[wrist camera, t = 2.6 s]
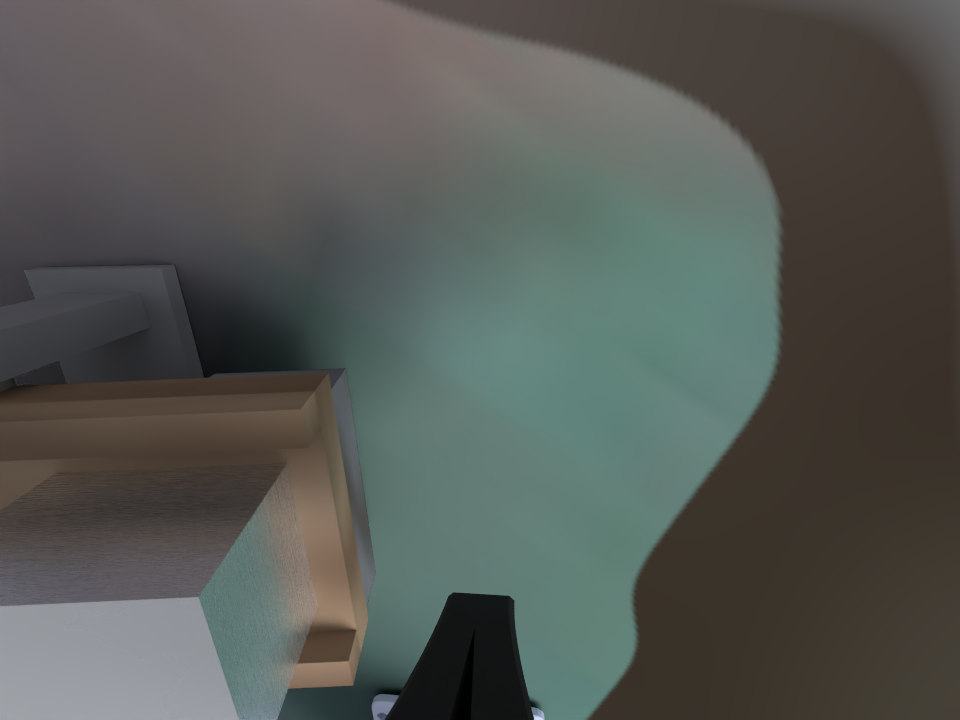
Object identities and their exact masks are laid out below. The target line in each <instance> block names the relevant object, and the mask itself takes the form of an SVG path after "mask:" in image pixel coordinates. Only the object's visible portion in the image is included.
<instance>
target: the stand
mask: <svg viewBox="0 0 960 720" xmlns="http://www.w3.org/2000/svg"><path fill="white" fill-rule="evenodd" d="M24 272H25V275H26V278H27V280H28V283H29V286H30V288H31V291H32V294H33V296H34V299H33V300H28V301H24V302H19V303H15V304H10V305H6V306H2V307H0V382H3V381H5V380H8V379H11V378H14V377H16V376H19V375H22V374H25V373H27V372H30V371H33V370H35V369H38V368H41V367H44V366H46V365H49V364H52V363H55V362H57V361H58V362H59V365H60V367H61V370H62V373H63V375H64V378H65V380H66V383H67V384H74V383H98V382H122V381H146V380H170V379H194V378H204V375H203V371H202V367H201V363H200V360H199V356H198V352H197V348H196V345H195V341H194V337H193V333H192V329H191V326H190V322H189V318H188V314H187V311H186V307H185V303H184V299H183V295H182V292H181V288H180V284H179V280H178V277H177V273H176V269H175V265H133V266H85V267H41V268H35V269H29V270H24Z"/></svg>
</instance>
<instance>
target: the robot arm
mask: <svg viewBox="0 0 960 720" xmlns="http://www.w3.org/2000/svg"><path fill="white" fill-rule="evenodd" d="M372 713H373V718H374V720H544V713H543V712H542V711H541V710H540V709H538V708H534V707H531V704H530V700H529V696H528V692H527V688H526V684H525V680H524V675H523V671H522V666H521V661H520V655H519V649H518V644H517V637H516V629H515V618H514V600H513V599H512V598H511V597H510V596H502V595H486V594H470V593H452V594H451V595H449V596H448V599H447V601H446V604H445V607H444V609H443V611H442V614H441V616H440V618H439V621H438V623H437V625H436V627H435V629H434V631H433V633H432V635H431V637H430V639H429V641H428V643H427V645H426V647H425V649H424V651H423V653H422V655H421V657H420V659H419V661H418V663H417V664H416V666H415V668H414V670H413V672H412V674H411V675H410V677H409V679H408V681H407V683H406V685H405V686H404V688H403V690H402V692H401V693H400V695H389V694H379V695H377V696H375V697H374V699H373V703H372Z"/></svg>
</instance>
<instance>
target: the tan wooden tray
mask: <svg viewBox="0 0 960 720" xmlns="http://www.w3.org/2000/svg"><path fill="white" fill-rule="evenodd" d="M275 463H287V464H288V469H289V473H290V478H291V483H292V488H293V492H294V497H295V502H296V507H297V511H298V516H299V521H300V525H301V530H302V535H303V540H304V544H305V549H306V554H307V559H308V563H309V568H310V573H311V577H312V582H313V587H314V592H315V596H316V601H317V606H318V608H317V610H316V613H315V616H314V619H313V622H312V624H311V627H310V630H309V633H308V635H307V638H306V641H305V644H304V646H303V649H302V652H301V655H300V658H299V660H298V663H297V666H296V669H295V671H294V674H293V677H292V680H291V683H290V685H289V688H288V689H291V688H312V687H332V686H353V684H354V680H355V676H356V671H357V667H358V663H359V658H360V654H361V650H362V645H363V641H364V637H365V632H366V628H367V624H368V614H367V605H368V601H369V597H370V593H371V589H372V585H373V580H374V576H375V572H376V570H375V563H374V556H373V550H372V543H371V536H370V529H369V522H368V516H367V509H366V502H365V495H364V489H363V482H362V475H361V468H360V462H359V455H358V448H357V441H356V434H355V428H354V421H353V414H352V407H351V401H350V394H349V387H348V380H347V373H346V368H345V369H321V370H297V371H273V372H249V373H225V374H214V375H212V376H211V377H210V378H194V379H170V380H146V381H122V382H98V383H74V384H50V385H27V386H16V383H15V381H14V379H13V378H11V379H8V380H5V381H3V382H0V510H2V509H3V508H5V507H6V506H8V505H9V504H11V503H12V502H14V501H15V500H16V499H18V498H19V497H21V496H22V495H24V494H25V493H27V492H28V491H30V490H31V489H32V488H34V487H35V486H37V485H38V484H40V483H41V482H43V481H44V480H46V479H47V478H48V477H50V476H51V475H53V474H54V473H70V472H93V471H116V470H138V469H161V468H184V467H207V466H230V465H252V464H275Z"/></svg>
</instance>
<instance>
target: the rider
mask: <svg viewBox="0 0 960 720" xmlns="http://www.w3.org/2000/svg"><path fill="white" fill-rule="evenodd" d="M317 608H318V606H317V601H316V596H315V592H314V587H313V582H312V577H311V573H310V568H309V563H308V559H307V554H306V549H305V544H304V540H303V535H302V530H301V525H300V521H299V516H298V511H297V507H296V502H295V497H294V492H293V488H292V483H291V478H290V473H289V469H288V464H287V463H275V464H252V465H230V466H207V467H184V468H161V469H138V470H116V471H93V472H70V473H54V474H53V475H51V476H50V477H48V478H47V479H46V480H44V481H43V482H41V483H40V484H38V485H37V486H35V487H34V488H32V489H31V490H30V491H28V492H27V493H25V494H24V495H22V496H21V497H19V498H18V499H16V500H15V501H14V502H12V503H11V504H9V505H8V506H6V507H5V508H3V509H2V510H0V720H277V719H278V716H279V713H280V710H281V707H282V705H283V702H284V699H285V696H286V694H287V691H288V688H289V685H290V683H291V680H292V677H293V674H294V671H295V669H296V666H297V663H298V660H299V658H300V655H301V652H302V649H303V646H304V644H305V641H306V638H307V635H308V633H309V630H310V627H311V624H312V622H313V619H314V616H315V613H316V610H317Z"/></svg>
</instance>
